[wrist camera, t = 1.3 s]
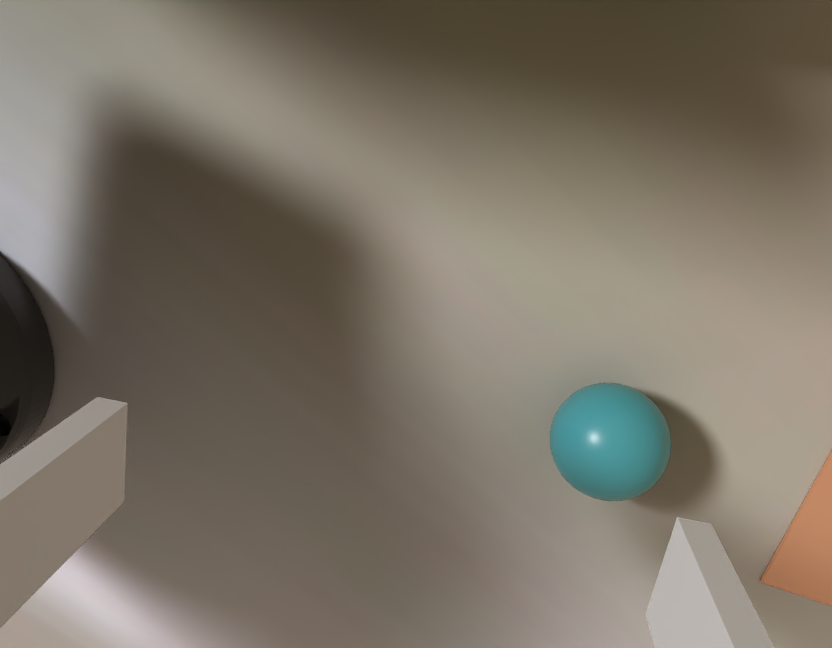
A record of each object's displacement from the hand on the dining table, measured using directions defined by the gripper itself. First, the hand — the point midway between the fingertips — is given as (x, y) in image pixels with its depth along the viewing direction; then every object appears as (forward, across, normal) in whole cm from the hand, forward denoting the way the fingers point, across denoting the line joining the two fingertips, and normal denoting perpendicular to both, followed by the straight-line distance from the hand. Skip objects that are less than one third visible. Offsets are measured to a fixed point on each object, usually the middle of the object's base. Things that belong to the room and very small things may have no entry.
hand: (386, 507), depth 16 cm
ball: (+16, +9, -4) cm, 19 cm away
